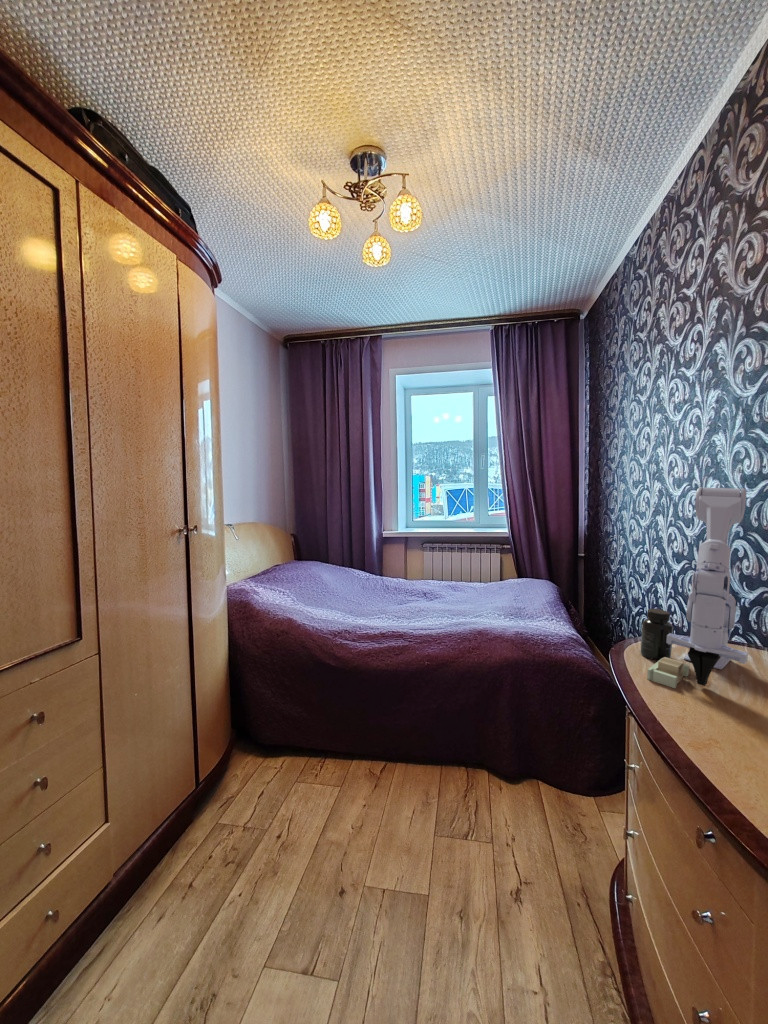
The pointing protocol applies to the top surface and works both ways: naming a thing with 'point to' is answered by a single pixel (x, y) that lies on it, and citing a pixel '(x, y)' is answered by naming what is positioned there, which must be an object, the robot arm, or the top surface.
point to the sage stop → (665, 675)
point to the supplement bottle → (656, 635)
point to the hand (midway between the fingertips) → (702, 683)
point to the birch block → (671, 667)
